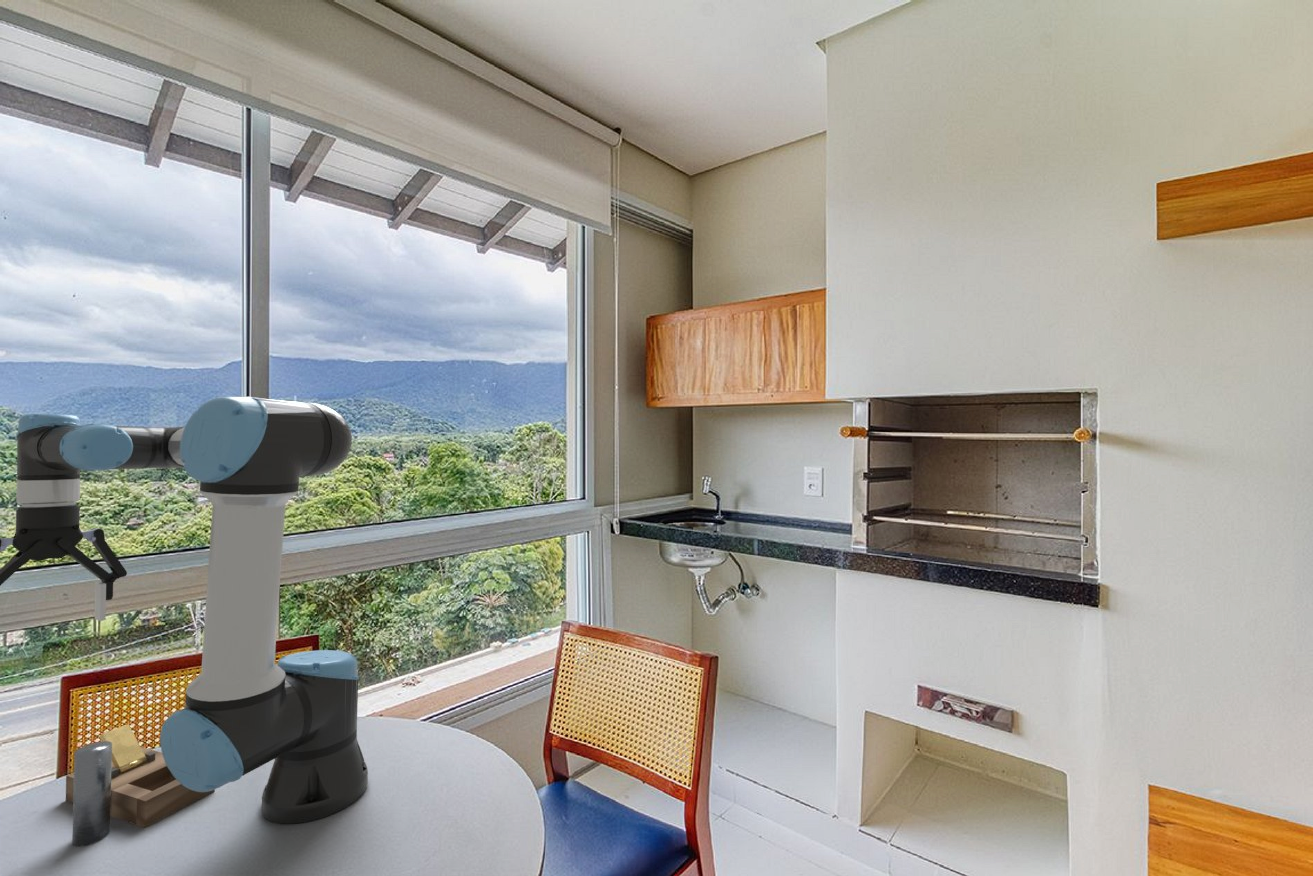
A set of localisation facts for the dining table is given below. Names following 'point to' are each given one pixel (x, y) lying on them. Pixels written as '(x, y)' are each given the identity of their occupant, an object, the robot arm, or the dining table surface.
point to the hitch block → (145, 791)
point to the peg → (92, 793)
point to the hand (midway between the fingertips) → (46, 629)
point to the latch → (124, 748)
